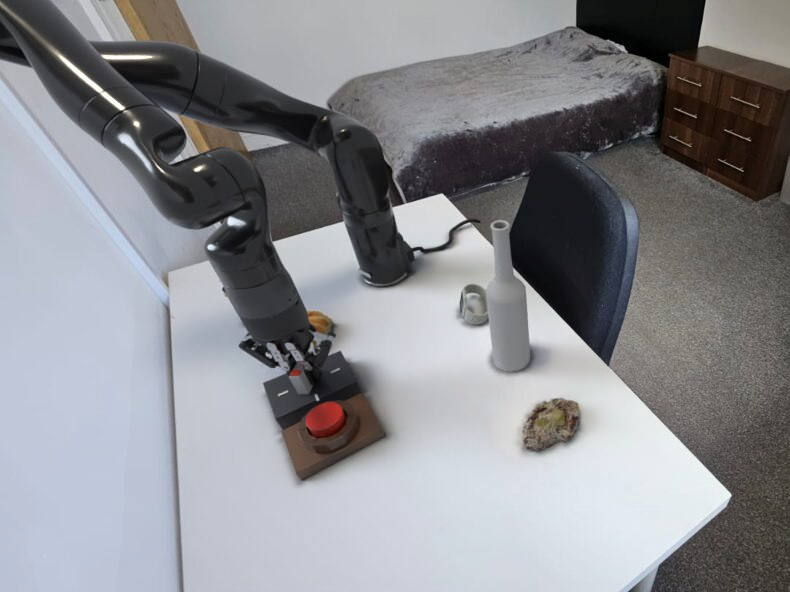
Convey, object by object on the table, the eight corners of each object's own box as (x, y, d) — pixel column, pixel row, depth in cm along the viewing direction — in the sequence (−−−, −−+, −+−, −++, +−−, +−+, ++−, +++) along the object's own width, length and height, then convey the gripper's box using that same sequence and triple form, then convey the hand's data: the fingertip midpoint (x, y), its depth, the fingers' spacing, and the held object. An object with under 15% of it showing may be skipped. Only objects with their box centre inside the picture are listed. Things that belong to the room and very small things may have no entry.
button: (340, 404, 72) (336, 396, 70) (350, 426, 69) (346, 418, 68) (306, 420, 69) (301, 412, 68) (315, 443, 66) (311, 435, 65)
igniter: (365, 399, 77) (359, 384, 74) (385, 436, 72) (378, 420, 69) (285, 438, 71) (275, 423, 68) (300, 480, 66) (290, 465, 63)
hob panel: (345, 360, 83) (339, 348, 81) (362, 394, 78) (357, 382, 75) (269, 393, 77) (261, 380, 75) (283, 432, 72) (275, 419, 70)
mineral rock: (552, 382, 78) (587, 401, 73) (558, 401, 80) (592, 420, 75) (503, 424, 72) (537, 447, 67) (511, 443, 74) (545, 467, 69)
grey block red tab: (310, 370, 77) (301, 351, 74) (320, 369, 77) (311, 351, 74) (298, 394, 73) (287, 376, 70) (309, 394, 73) (298, 376, 71)
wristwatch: (458, 298, 97) (455, 279, 93) (489, 294, 98) (487, 275, 95) (462, 328, 90) (459, 309, 87) (495, 323, 92) (493, 304, 88)
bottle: (518, 339, 88) (509, 208, 70) (537, 361, 84) (531, 228, 66) (487, 354, 85) (468, 220, 67) (504, 377, 81) (489, 242, 63)
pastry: (321, 358, 83) (314, 343, 81) (281, 361, 82) (272, 346, 80) (335, 322, 90) (329, 307, 88) (298, 324, 89) (291, 309, 87)
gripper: (197, 317, 60) (253, 400, 72) (308, 317, 61) (345, 399, 73) (227, 281, 66) (275, 363, 77) (328, 281, 67) (360, 362, 78)
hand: (309, 380), depth 75 cm, fingers closed on grey block red tab
